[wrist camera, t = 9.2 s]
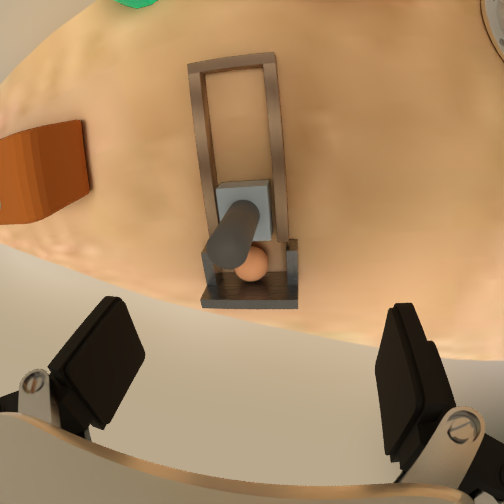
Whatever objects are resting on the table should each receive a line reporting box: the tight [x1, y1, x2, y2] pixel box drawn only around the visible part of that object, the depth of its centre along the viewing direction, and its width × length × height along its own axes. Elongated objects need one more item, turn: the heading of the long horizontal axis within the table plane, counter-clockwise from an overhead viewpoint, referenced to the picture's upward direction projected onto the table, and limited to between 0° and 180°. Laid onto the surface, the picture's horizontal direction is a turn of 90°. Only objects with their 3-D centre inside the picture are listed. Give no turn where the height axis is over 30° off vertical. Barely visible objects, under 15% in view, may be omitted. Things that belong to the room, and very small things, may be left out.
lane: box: [187, 52, 289, 242], centre depth 25 cm, size 17×7×2 cm, turn 5°
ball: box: [234, 246, 268, 281], centre depth 29 cm, size 3×3×3 cm
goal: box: [200, 240, 298, 309], centre depth 29 cm, size 5×9×5 cm, turn 95°
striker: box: [206, 180, 273, 269], centre depth 24 cm, size 5×4×9 cm
